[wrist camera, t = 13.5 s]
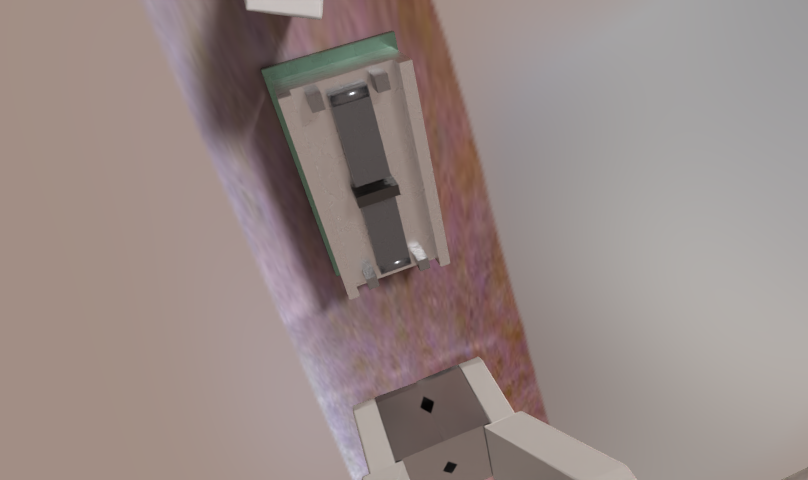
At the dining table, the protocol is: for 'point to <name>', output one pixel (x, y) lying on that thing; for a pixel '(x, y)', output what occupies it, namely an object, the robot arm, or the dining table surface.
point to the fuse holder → (327, 165)
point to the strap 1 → (359, 133)
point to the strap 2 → (386, 235)
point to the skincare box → (288, 7)
